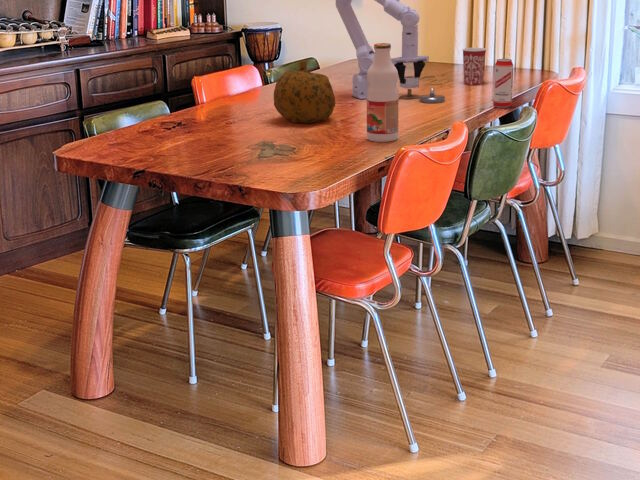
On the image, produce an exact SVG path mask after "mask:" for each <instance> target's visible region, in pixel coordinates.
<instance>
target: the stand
mask: <svg viewBox="0 0 640 480" xmlns="http://www.w3.org/2000/svg"><path fill="white" fill-rule="evenodd" d="M399 99H402V100H417V99H420V95H419V94H412V88H408V89H407V94H406V93H405V94H401V95H399Z"/></svg>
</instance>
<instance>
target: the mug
mask: <svg viewBox="0 0 640 480" xmlns="http://www.w3.org/2000/svg"><path fill="white" fill-rule="evenodd" d="M486 53H487V49H486V48H485V47H484V48H483V47H466V48H463V49H462V58H463V59H462V63H463V84H464V85H466V86H481V85H483V83H484V82H483V81H484V72H485V63H486V62H485V60H486Z"/></svg>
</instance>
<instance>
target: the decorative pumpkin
mask: <svg viewBox="0 0 640 480" xmlns="http://www.w3.org/2000/svg"><path fill="white" fill-rule="evenodd" d="M307 63H308V62H307V60H300V61H299V70H297V69H296V70H287V71H285V72H284V73H283V74H281V76H280V77H279V78H278V79H277V81H276V82H275V87H274V91H273V105H274V108H275V109H276V112H278V113H279V115H281V116H282V117H283V118H285V120H288V121H290V122H292V123H295V124H296V123H297V124H298V123H299V124H300V123H302V124H307V125H310V124H312V123H314V122H315V123H316V122H322V121H325V120H326V119H328V118H329V117H330V116H331V115H332V114H333V112H334V110H335V109H334V108H335V107H336V104H337V103H336V95H335V93H334V91H333V90H334V89H333V86H332V85H331V84H332V83H331V82H330V79H329V77H328V76H327V75H326V74H322V73H319V72H318V73H315V72H311V71H308V68H307Z"/></svg>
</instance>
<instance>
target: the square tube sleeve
mask: <svg viewBox="0 0 640 480" xmlns="http://www.w3.org/2000/svg"><path fill="white" fill-rule="evenodd" d="M399 87H400V88H403V89H407V90H408V89H416V88H419V87H420V78H419V77H415V76H414V75H405V81H404V84H401V83H400V82H399Z"/></svg>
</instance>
